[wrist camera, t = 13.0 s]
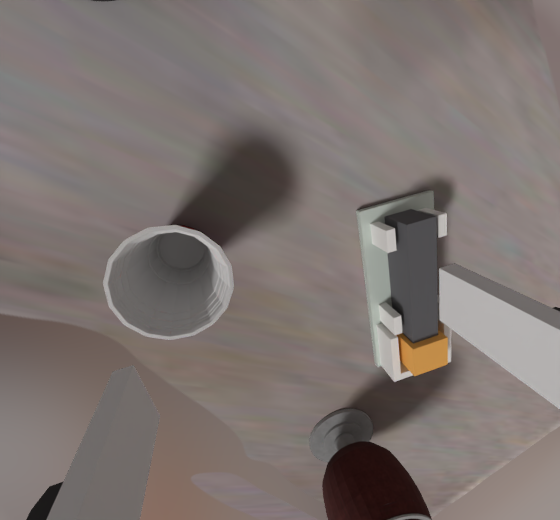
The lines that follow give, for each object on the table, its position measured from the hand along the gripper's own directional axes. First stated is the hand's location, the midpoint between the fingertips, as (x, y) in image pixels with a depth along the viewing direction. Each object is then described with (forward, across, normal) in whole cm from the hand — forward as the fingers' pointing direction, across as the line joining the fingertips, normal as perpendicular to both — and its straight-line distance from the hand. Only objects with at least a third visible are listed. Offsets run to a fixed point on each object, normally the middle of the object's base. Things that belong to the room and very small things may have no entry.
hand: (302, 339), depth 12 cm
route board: (+27, +20, -17) cm, 38 cm away
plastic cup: (+27, -8, -2) cm, 28 cm away
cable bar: (+26, +20, -17) cm, 37 cm away
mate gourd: (+27, +6, -44) cm, 52 cm away
